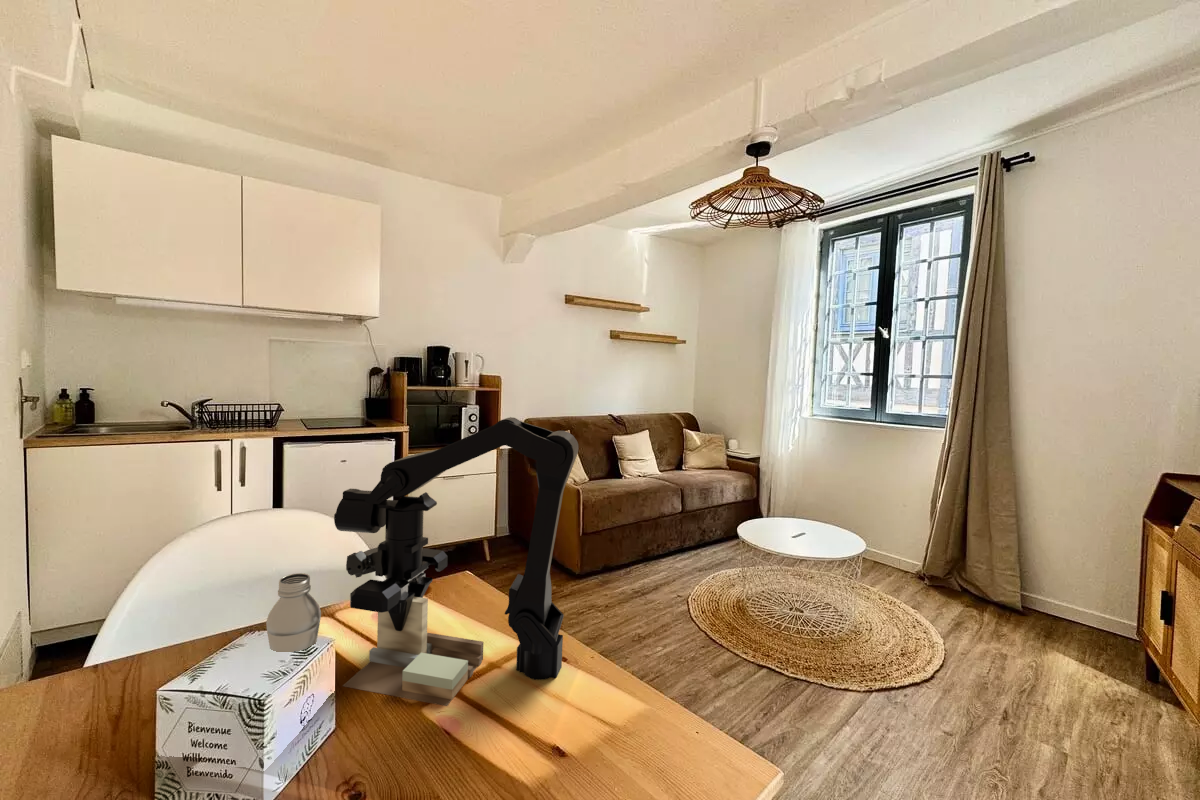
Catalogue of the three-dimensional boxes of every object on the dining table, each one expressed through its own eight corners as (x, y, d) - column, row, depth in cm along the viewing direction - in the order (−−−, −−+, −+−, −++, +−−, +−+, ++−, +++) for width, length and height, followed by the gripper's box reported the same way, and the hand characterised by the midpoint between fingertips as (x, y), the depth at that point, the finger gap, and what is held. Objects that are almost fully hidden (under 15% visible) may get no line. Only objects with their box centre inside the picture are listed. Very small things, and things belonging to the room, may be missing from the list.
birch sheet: (426, 657, 83) (427, 598, 83) (421, 662, 82) (422, 602, 81) (383, 650, 85) (384, 592, 84) (377, 655, 83) (378, 596, 83)
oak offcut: (467, 679, 78) (467, 669, 78) (451, 699, 73) (452, 689, 73) (420, 670, 80) (420, 661, 80) (402, 690, 75) (402, 680, 75)
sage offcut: (467, 669, 78) (468, 660, 78) (452, 689, 73) (452, 679, 73) (420, 661, 80) (421, 652, 79) (402, 680, 75) (402, 670, 75)
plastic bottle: (261, 745, 64) (262, 593, 63) (268, 712, 70) (268, 572, 69) (319, 731, 67) (321, 585, 66) (321, 700, 73) (322, 566, 72)
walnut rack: (483, 665, 84) (484, 641, 83) (448, 712, 72) (448, 685, 72) (389, 648, 87) (390, 626, 87) (340, 692, 75) (341, 666, 75)
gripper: (394, 513, 93) (392, 596, 94) (318, 548, 74) (317, 650, 75) (450, 520, 90) (447, 604, 91) (386, 557, 72) (384, 662, 73)
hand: (402, 627), depth 83 cm, fingers closed on birch sheet, 2 cm apart
